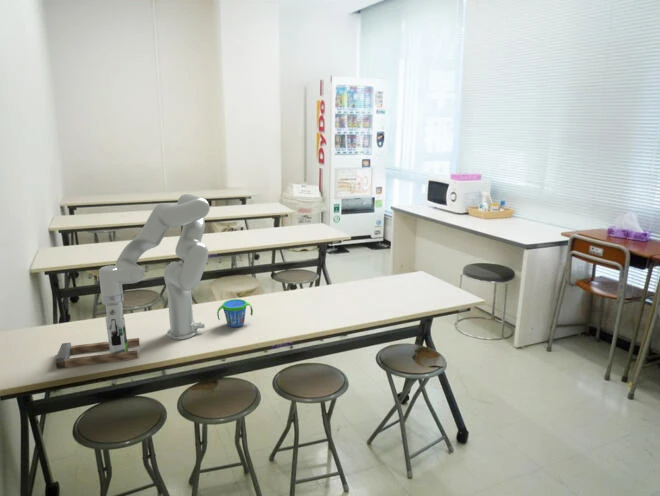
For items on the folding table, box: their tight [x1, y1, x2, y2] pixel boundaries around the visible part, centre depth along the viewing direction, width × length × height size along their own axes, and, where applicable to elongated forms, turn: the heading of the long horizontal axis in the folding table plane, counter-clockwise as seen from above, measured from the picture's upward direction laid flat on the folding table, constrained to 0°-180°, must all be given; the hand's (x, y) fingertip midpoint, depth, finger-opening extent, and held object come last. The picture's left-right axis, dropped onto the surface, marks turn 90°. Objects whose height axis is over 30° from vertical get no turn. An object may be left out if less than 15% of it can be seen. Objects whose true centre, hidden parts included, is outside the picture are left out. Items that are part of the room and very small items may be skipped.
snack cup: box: [216, 298, 254, 328], centre depth 218 cm, size 16×10×10 cm
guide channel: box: [54, 337, 141, 370], centre depth 190 cm, size 28×13×4 cm, turn 108°
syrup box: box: [105, 316, 129, 353], centre depth 190 cm, size 6×6×14 cm
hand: (117, 340), depth 191 cm, fingers closed on syrup box, 7 cm apart
